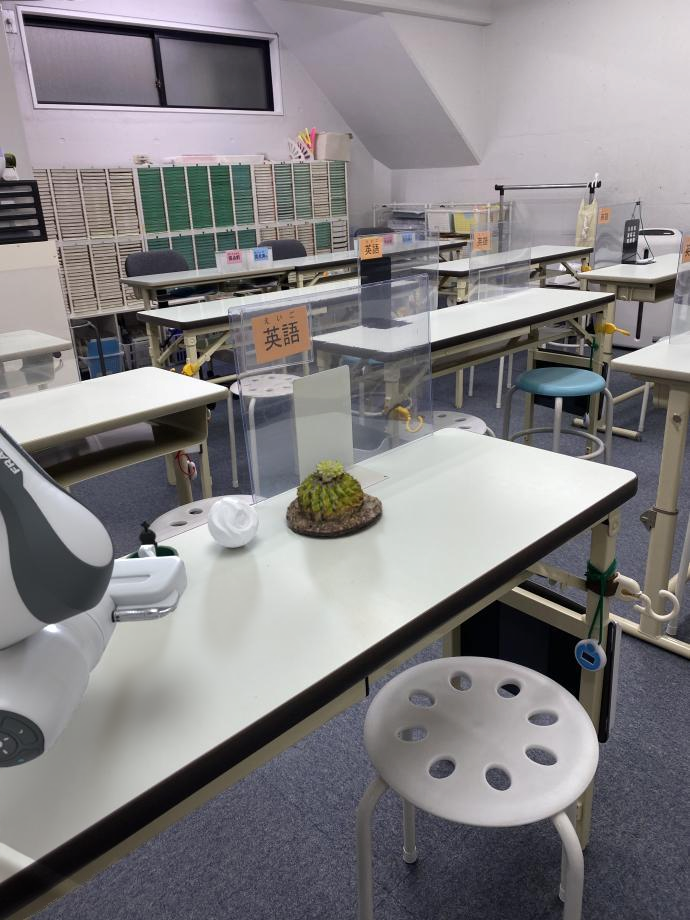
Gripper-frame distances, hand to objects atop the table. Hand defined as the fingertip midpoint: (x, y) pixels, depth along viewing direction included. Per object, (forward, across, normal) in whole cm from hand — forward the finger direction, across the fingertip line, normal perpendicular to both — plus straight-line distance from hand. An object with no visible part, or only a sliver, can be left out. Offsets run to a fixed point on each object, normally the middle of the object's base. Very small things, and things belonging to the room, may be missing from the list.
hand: (108, 552), depth 80 cm
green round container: (+15, 0, +14) cm, 20 cm away
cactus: (+34, -26, +14) cm, 45 cm away
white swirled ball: (+26, -10, +14) cm, 31 cm away
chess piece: (+14, 0, +13) cm, 20 cm away
